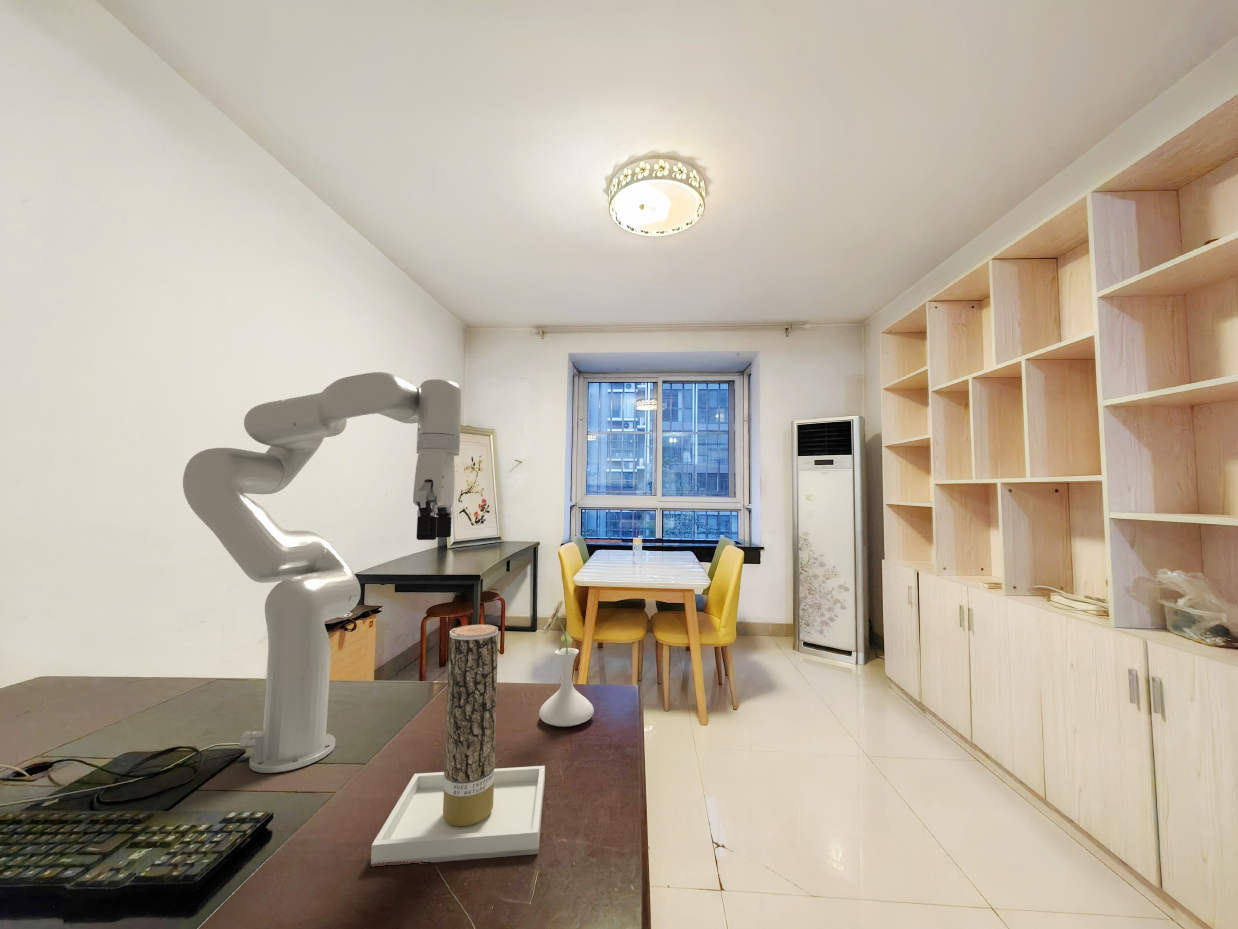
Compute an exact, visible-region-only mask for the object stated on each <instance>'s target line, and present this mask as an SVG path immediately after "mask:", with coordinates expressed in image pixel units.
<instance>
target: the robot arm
mask: <svg viewBox="0 0 1238 929" xmlns="http://www.w3.org/2000/svg"><path fill="white" fill-rule="evenodd" d="M375 414H377V415H381V416H384V417H387V418H390V419H392V420H395V421H397V422H400V423H403V424H410V425H411V424H417V432H416V433H417V434H416V454H418V455H417V459H416V460H417V461H416V465H415V475H414V484H413V493H412V494H413V495H412V497H413V498H412V502H413V504H414V505H415V506H417V507H418V509H417V514H416V515H417V517H416V518H417V519H416V521H417V522H416V540H417V541H428V540H429V541H435V540H437V538H450V537H451V536H452V519H453V517H452V515H453V513H452V512H453V510H452V506H453V504H454V499H455V457H458V456H459V455H460V446H461V445H460V444H461V441H460V440H461V416H462V389H461V387H460V386H459V384H458V383H456V382H453V381H452V380H451V381H450V380H446V379H440V378H439V379H438V378H437V379H436V378H433V379H427V380H424V381H423V382H422V383H421V384H420V386H418V385H415V384H413V383H410V382H408V381H406V380H404V379H403V378H401V377H399V376H397V375H395V374H393V373H389V372H382V371H381V372H380V371H376V372H375V371H373V372H367V373H361V374H355V375H350V376H349V375H348V376H346V377H342V378H339V379H337V380H335V381H333V382H332V383H330V384H328V386H326V387H325V388H324V389H323V390H322V391H321V392H318V393H313V394H307V395H301V396H297V397H291V398H286V399H278V400H273V401H268V402H264V403H261V404H258V405H256V406H253V407H252V408H250V409H249V410H248V411H247V413H246V414H245V416H244V419H243V427H244V429H245V432H246V433H247V434H248V436H249V437H251V439H253V440H254V441H256V442H258V443H259V444H262V445H264V446H269V448H268V449H267V450H266V451H265V452H260V451H254V450H253V451H252V450H247V449H241V448H235V447H212V448H208V449H204V450H201V451H199V452H197V453H195V454H194V455H193V456H192V457H191V458H190V459H189V461H188V462H187V464H186V466H185V468H184V471H183V472H184V473H183V476H182V488H183V493H184V497H185V500H186V502H187V504H188V505H189V507H190V508H191V509H192V511H193V512H194V514H196V516H197V517H198V518H199V520H201V521H202V523H204V524H205V526H207V527H208V529H209V530H210V531H212V533H213V534H214V535H215V536H216V538H217V539H218V540H219V542H220V543H221V544H222V546H223V547H224V548H225V550H226V551H227V552H228V554H229V555H230V556H231V557H232V558H233V559H234V561H235V563H237V565H238V566H239V567H240V568H241V570H242V571H243V573H244V574H245V575H246V576H247V577H248V578H249V579H251V580H252V581H254V582H255V583H259V584H260V583H263V584H265V583H268V584H269V583H277V582H279V583H277V584H276V585H275V586H274V587H272V589H271V590H270V592H269V593H268V595H267V596H266V599H265V603H264V616H265V623H266V629H267V630H266V631H267V641H268V644H267V649H268V650H267V665H266V666H267V668H266V681H265V682H266V685H265V696H264V698H265V699H264V711H263V713H264V715H263V723H262V724H263V726H262V730H261V731H257V730H254V731H249V730H248V731H244V732H243V733H242V735H241V737H240V742H239V745H238V747H239V749H241V750H242V749H249V748H250V749H251V748H253V750H254V752H253V753H252V754H251V756H250V757H249V763H248V765H249V769H251V771H253V772H256V773H261V774H273V773H282V772H283V773H284V772H288V771H293V770H297V769H300V768H302V767H306V766H309V765H311V764H313V763H316V762H318V761H321V760H322V759H323V758H325V757H327V755H328V756H329V754H330V753H331V752H332V751H334V749H335V747H336V737H335V736H334V735H332V734H330V733H328V732H327V725H328V724H327V722H328V707H329V705H328V704H329V691H330V690H329V689H330V676H331V675H330V674H331V672H330V671H331V655H332V654H331V652H332V650H331V649H332V648H331V645H332V644H331V640H330V637H329V634H328V631H327V628H326V625H325V622H327V621H330V620H333V619H336V618H337V619H338V618H339V617H341V616H344V615H347V614H348V613H349V612H351V611H352V610H353V609H354V608H356V607H357V605H358V603H359V601H360V599H361V584H360V582H359V579H358V578H357V576H356V574H355V573H354V572H353V571H352V569H351V568H350V567H349V565H347V563H346V562H345V561H344V559H343V558H342V557H341V556H340V554H339V553H338V552H337V551H336V550H335V548H334V547H333V546H332V545H331V543H329V541H327V539H325V538H324V537H323V536H321V535H319V534H318V533H315V532H313V531H309V530H288V529H283V528H282V527H281V526H279V525H278V524H277V523H276V522H275V520H274V519H273V518H272V517H271V515H270V514H269V513H268V511H266V509H265V508H264V507H263V506H261V505H260V504H259V503H257V502H255V501H254V500H252V498H249V497H248V496H247V495H246V494H250V495H251V494H252V495H253V494H254V495H271V494H272V495H273V494H276V493H278V492H280V491H282V490H284V489H285V488H287V486H288V485H290V484H291V483H292V481H293V480H294V479H295V478H296V477H297V475H298V474H299V473H300V472H301V470H302V469H303V468H304V467H305V466H306V464H307V463H308V462H309V460H310V459H311V458H313V456H314V454H315V453H316V452H317V450H319V448H320V447H321V445H322V443H323V441H324V439H326V438H331V437H336V436H339V435H341V434H342V433H343V432H344V431H345V429H346V427H347V420H348V419H351V418H355V417H360V416H367V415H375Z"/></svg>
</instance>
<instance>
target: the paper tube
mask: <svg viewBox="0 0 1238 929" xmlns="http://www.w3.org/2000/svg"><path fill="white" fill-rule="evenodd" d="M448 636H449V637H448V639H449V640H448V661H447V662H448V663H447V666H448V667H447V689H446V690H447V692H446V712H445V714H446V716H445V717H446V718H445V740H444V742H445V744H444V766H443V767H444V770H443V772H444V797H443V817H444V819H445V820H446V822H447V823H449V824H451V825H453V826H459V827H464V826H470V825H474V824H476V823H479V822H480V821H482V820H484V819H485V818H486V817H487V816H488V815H489V814H490V812H491V810H492V808H493V797H494V769H495V768H496V767H495V762H496V759H495V757H496V723H497V722H496V720H497V694H498V693H497V692H498V691H497V689H498V688H497V686H498V685H497V684H498V650H499V648H498V647H499V627H498V626H495V625H492V624H467V625H461V626H458V627H454V628H452V629H451V630H450V631H449V635H448Z"/></svg>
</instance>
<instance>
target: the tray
mask: <svg viewBox="0 0 1238 929" xmlns="http://www.w3.org/2000/svg"><path fill="white" fill-rule="evenodd" d="M545 778H546V765H534V766H531V765H530V766H519V767H504V768H503V767H501V768H500V767H499V768H494V797H493V808H492V810H491V812H490V814H489V815H488V816H487V817H486V818H485V819H484V820H482V821H480V822H479V823H476V824H474V825H470V826H464V827H459V826H453V825H451V824H449V823H447V822H446V820H445V819H444V817H443V797H444V771H439V772H421V773H419V772H418V773H414V774H413V776H412V777H411V779H410V780H409V782H408V784H407V785H406V788H405V789H404V791H403V792H402V794H401V796H400V797H399V799H398V801H397V802H396V804H395V806H394V808H393V809H392V810H391V812H390V814H389V816H388V817H387V818H386V821H385V822H384V824H383V825H382V827H381V829H380V831H379V832H378V834H377V835H376V837H375V839H374V841H373V842H372V844H371V851H370V853H371V854H370V865H371V864H375V863H376V864H377V863H383V862H384V863H386V862H396V861H397V862H399V861H401V862H403V861H405V862H407V861H408V862H411V861H418V862H420V861H423V862H431V863H440V862H441V863H442V862H443V863H444V862H454V861H455V862H456V861H467V860H478V859H479V860H481V859H490V858H491V859H492V858H503V857H514V856H517V857H518V856H527V855H538V854H539V849H540V848H539V847H540V839H541V837H540V836H541V827H542V815H543V804H544V794H545V786H546V785H545V783H546V782H545V780H546V779H545Z"/></svg>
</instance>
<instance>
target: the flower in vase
mask: <svg viewBox="0 0 1238 929" xmlns="http://www.w3.org/2000/svg"><path fill="white" fill-rule="evenodd" d="M563 600H564V599H559V600H558V602H557V605H555V607H554V609H553V612H552V615H551V616H550V617H549V618H548V619H547V622H548V623H547V624H546V625H545V626H544V628H543V629H542V636H543V635H544V636H545V635H546V634H547V633H548V632H549V631H550V630H551V628H552V626H553V625H554V623H556V622H558V624H559V626H560V628H561V630H562V633H563V634H562V635H561V637H560V641H561V644H560V646H559V648H558V649H556V650H555V651H554V654H555V655H556V656H557V658H558V660H559V664H560V665H559V666H560V670H561V675H560V676H561V679H560V680H561V683H560V687H559V689H558V690H557V691H556V692H555V693H554V694H553V695H552V696H550V697H549V698H548V699H547V700H546V701H545V702H544V703H543V704H542V705H541V707H540V708H539V712H538V716H539V717H540V719H541V721H542V722H544V723H545V724H548V725H550V726H556V727H573V726H577V725H581V724H582V723H585V722H587V721H588V720H590V719H591V718H592V716H593V715H594V712H595V710H594V706H593V703H591V702H590V700H589V699H588V698H586V697H585V696H584V695H582V694H581V693H580V692H579V691H578V690H576V688H575V687H574V684H573V668H574V667H573V666H574V663H575V659H576V656H578V655H579V652H580V651H579V649H577V648H572V647H570V645H572V643H573V642H574V641H573V639H572V636H571V635H570V634H569V632H568V630H565V628H564V626H563V624H562V622H561V620H560V618H559V613H560V611H561V609H562V606H563V603H564V601H563ZM564 646H565V648H564Z"/></svg>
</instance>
